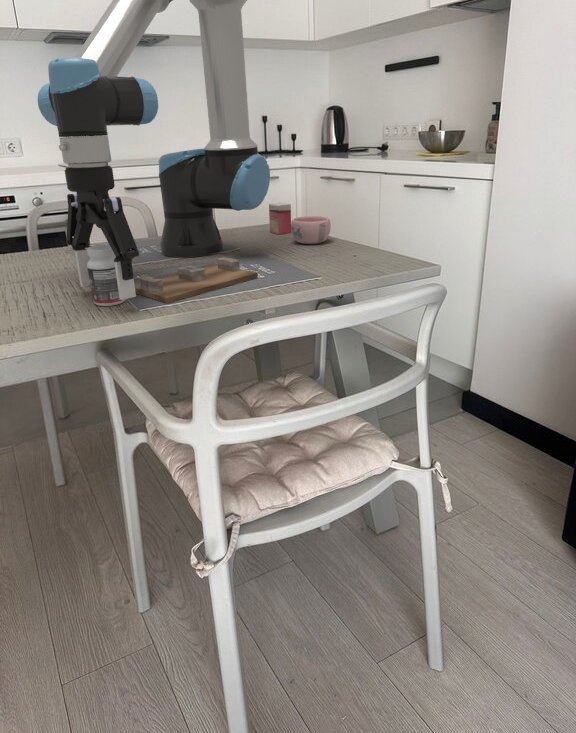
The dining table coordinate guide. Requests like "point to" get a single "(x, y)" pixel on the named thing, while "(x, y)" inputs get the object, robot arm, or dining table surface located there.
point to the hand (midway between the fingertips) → (107, 291)
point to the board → (193, 280)
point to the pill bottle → (103, 276)
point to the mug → (310, 229)
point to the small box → (280, 218)
